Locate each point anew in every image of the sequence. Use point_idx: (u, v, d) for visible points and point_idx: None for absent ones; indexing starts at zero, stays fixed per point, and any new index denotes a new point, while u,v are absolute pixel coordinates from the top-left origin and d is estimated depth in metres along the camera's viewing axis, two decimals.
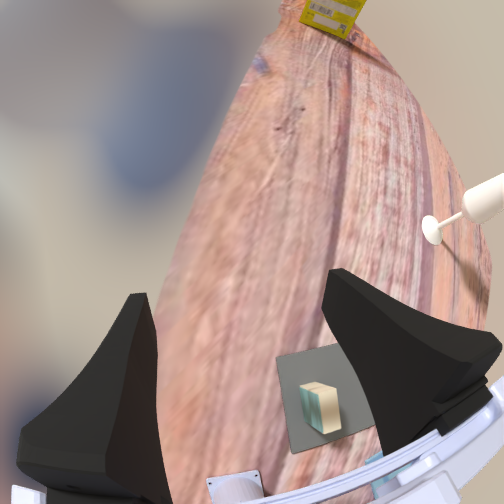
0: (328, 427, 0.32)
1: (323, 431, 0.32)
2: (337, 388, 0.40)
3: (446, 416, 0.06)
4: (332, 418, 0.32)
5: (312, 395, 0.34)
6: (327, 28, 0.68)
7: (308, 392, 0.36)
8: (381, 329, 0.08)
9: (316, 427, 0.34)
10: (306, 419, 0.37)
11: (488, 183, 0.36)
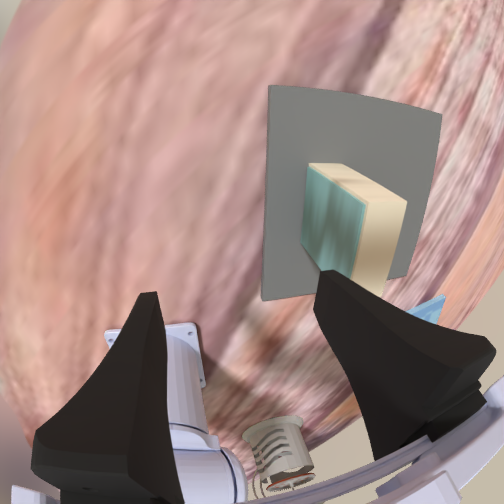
0: None
1: None
2: None
3: (436, 422, 0.06)
4: (374, 271, 0.15)
5: (346, 198, 0.14)
6: None
7: (333, 186, 0.15)
8: (371, 332, 0.08)
9: None
10: (305, 242, 0.20)
11: None
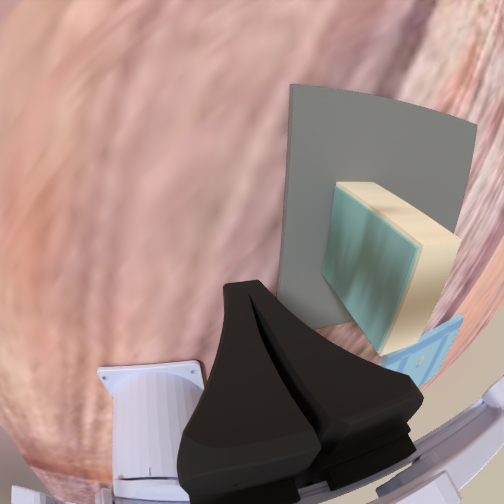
0: (396, 341, 0.12)
1: (381, 349, 0.12)
2: None
3: (335, 470, 0.05)
4: (415, 320, 0.12)
5: (392, 236, 0.11)
6: None
7: (371, 217, 0.12)
8: (276, 354, 0.08)
9: (360, 321, 0.14)
10: (329, 275, 0.17)
11: None
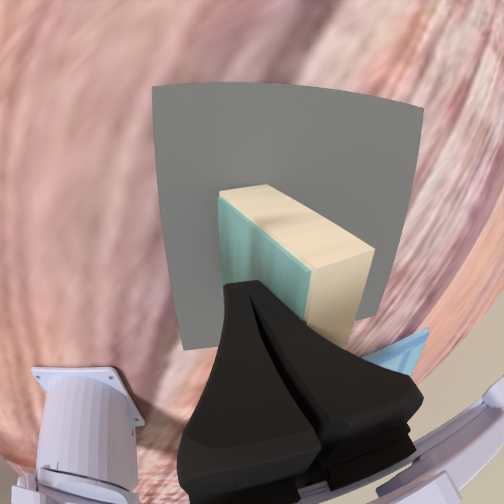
0: None
1: None
2: None
3: (335, 470, 0.05)
4: None
5: (278, 256, 0.09)
6: None
7: (255, 233, 0.11)
8: (276, 354, 0.08)
9: None
10: None
11: None
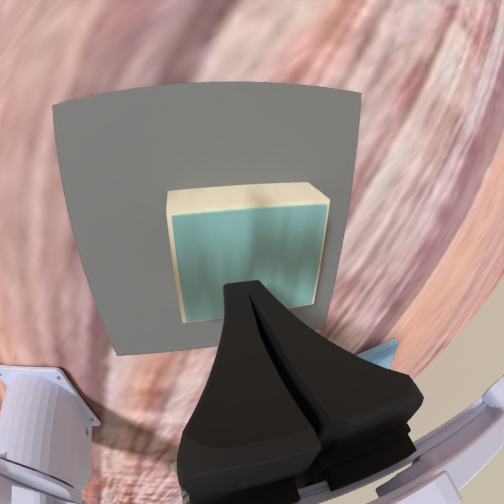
0: None
1: None
2: None
3: (335, 470, 0.05)
4: None
5: (296, 212, 0.12)
6: None
7: (260, 213, 0.12)
8: (276, 354, 0.08)
9: None
10: (202, 313, 0.14)
11: None
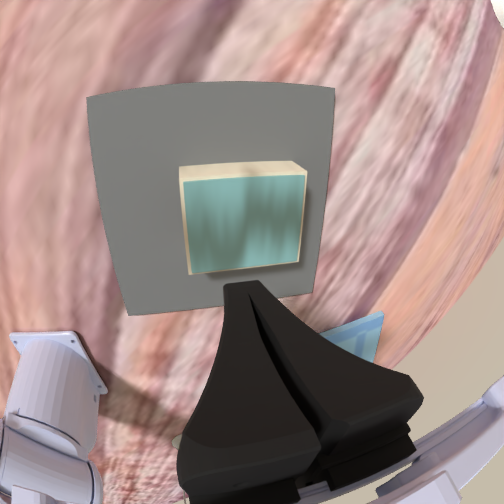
0: None
1: (297, 256, 0.19)
2: None
3: (335, 471, 0.05)
4: None
5: (280, 181, 0.16)
6: None
7: (251, 180, 0.15)
8: (276, 355, 0.08)
9: (269, 260, 0.18)
10: (205, 265, 0.17)
11: None
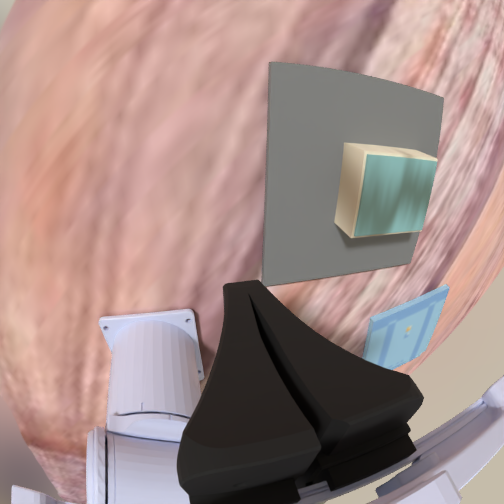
0: None
1: (421, 226, 0.20)
2: None
3: (335, 471, 0.05)
4: None
5: (424, 163, 0.17)
6: None
7: (409, 160, 0.17)
8: (276, 355, 0.08)
9: (406, 228, 0.20)
10: (366, 229, 0.19)
11: None
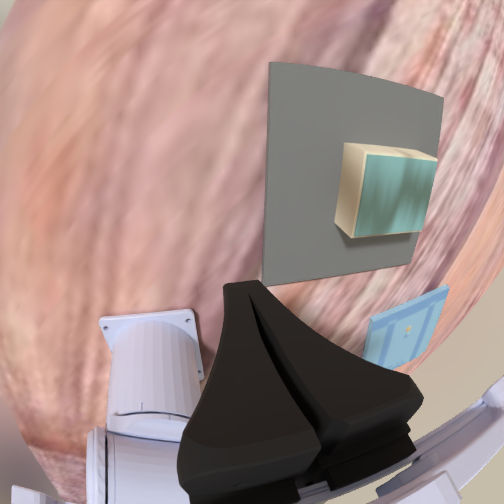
0: None
1: (421, 226, 0.20)
2: None
3: (335, 471, 0.05)
4: None
5: (424, 163, 0.17)
6: None
7: (409, 160, 0.17)
8: (276, 355, 0.08)
9: (406, 228, 0.20)
10: (366, 229, 0.19)
11: None
